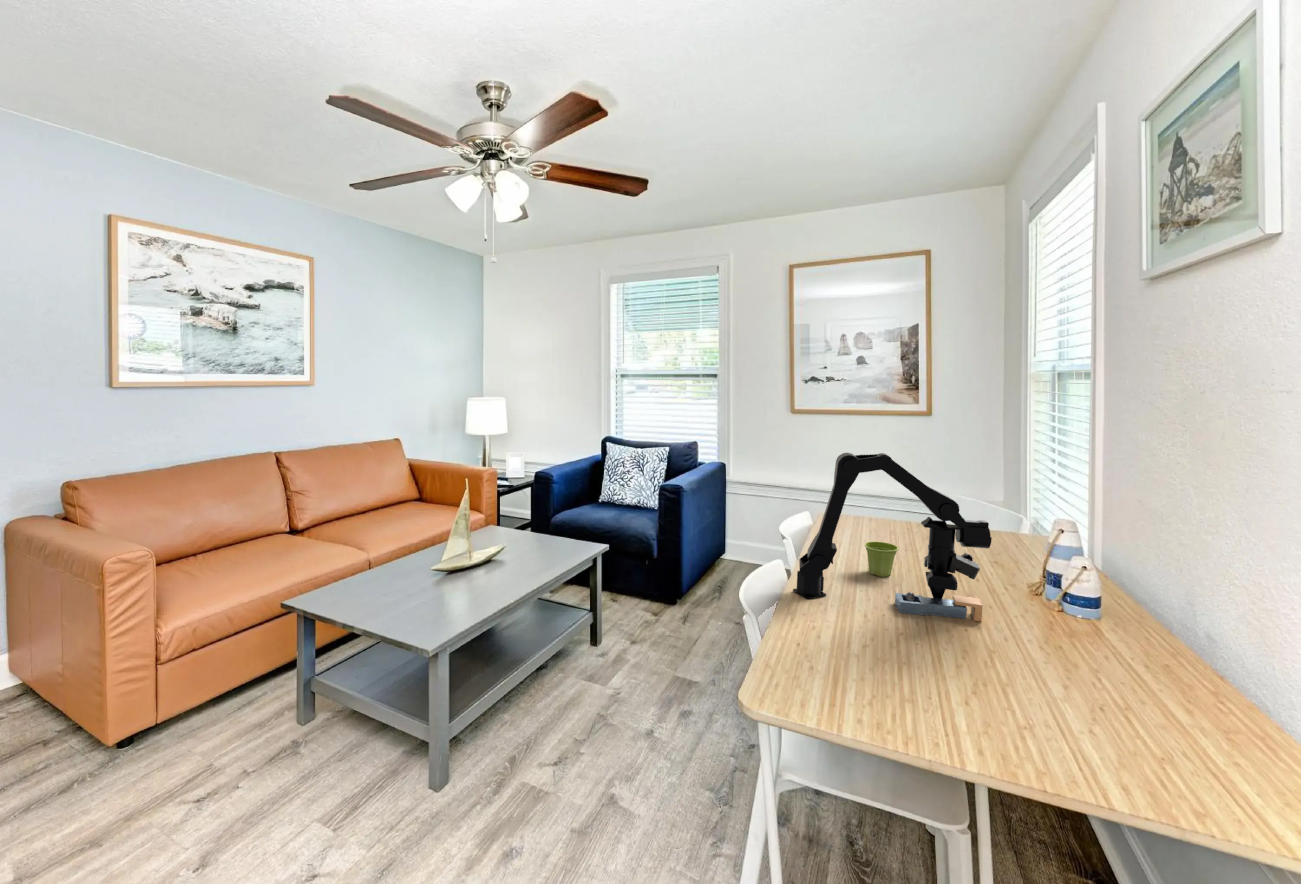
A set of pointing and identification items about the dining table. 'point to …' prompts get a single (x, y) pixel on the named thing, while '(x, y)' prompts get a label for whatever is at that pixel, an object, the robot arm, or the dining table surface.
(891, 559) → the plant pot
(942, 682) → the dining table surface
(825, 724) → the dining table surface
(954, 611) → the link
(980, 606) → the keeper
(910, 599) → the cylinder
